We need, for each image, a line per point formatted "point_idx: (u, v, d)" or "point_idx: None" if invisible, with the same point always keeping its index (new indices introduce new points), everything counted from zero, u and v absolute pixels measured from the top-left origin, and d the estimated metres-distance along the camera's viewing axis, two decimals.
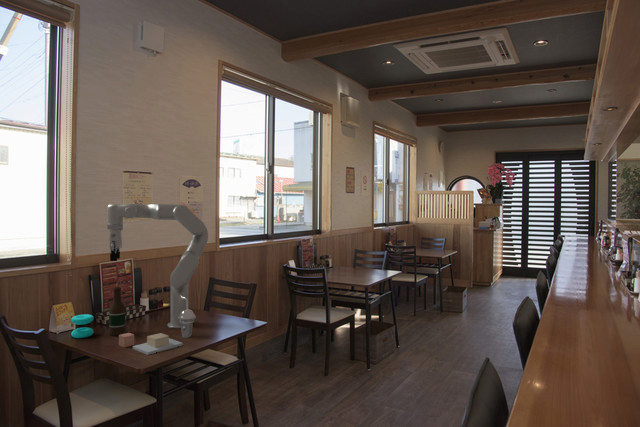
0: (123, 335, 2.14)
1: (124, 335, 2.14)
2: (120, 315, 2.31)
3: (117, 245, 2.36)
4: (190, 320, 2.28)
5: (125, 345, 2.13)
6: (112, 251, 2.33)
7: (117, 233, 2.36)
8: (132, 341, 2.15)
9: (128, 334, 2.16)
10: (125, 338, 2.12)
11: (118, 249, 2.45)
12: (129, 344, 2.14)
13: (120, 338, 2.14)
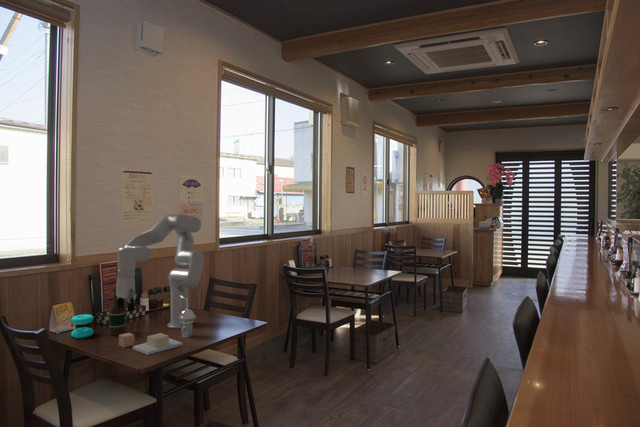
0: (123, 335, 2.14)
1: (124, 335, 2.14)
2: (120, 315, 2.31)
3: None
4: (190, 320, 2.28)
5: (125, 345, 2.13)
6: None
7: None
8: (132, 341, 2.15)
9: (128, 334, 2.16)
10: (125, 338, 2.12)
11: None
12: (129, 344, 2.14)
13: (120, 338, 2.14)
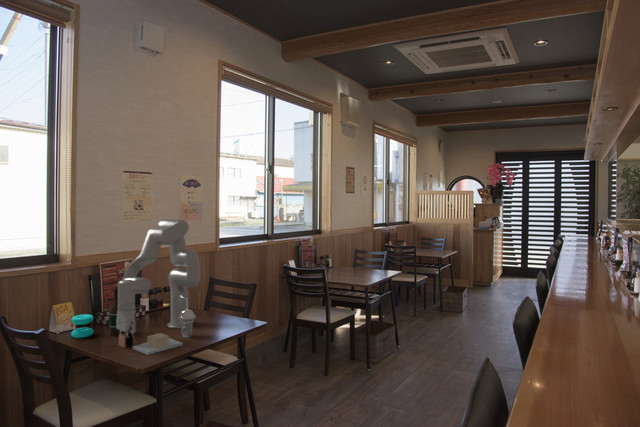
0: (123, 335, 2.14)
1: (124, 335, 2.14)
2: None
3: None
4: (190, 320, 2.28)
5: (125, 345, 2.13)
6: None
7: None
8: None
9: None
10: (125, 338, 2.12)
11: None
12: None
13: (120, 338, 2.14)
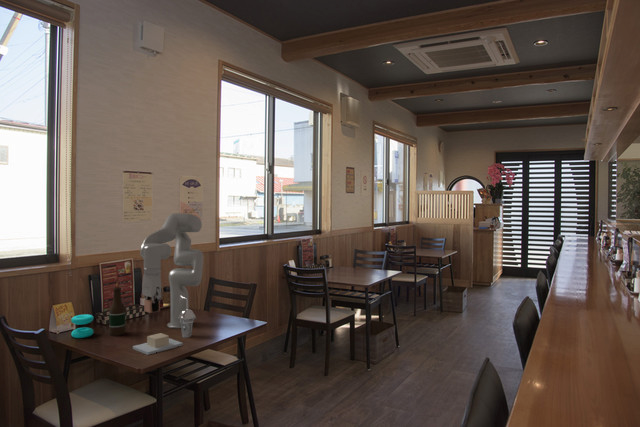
0: (149, 300, 2.12)
1: (150, 300, 2.12)
2: (120, 315, 2.31)
3: None
4: (190, 320, 2.28)
5: (151, 310, 2.10)
6: None
7: None
8: None
9: None
10: (151, 303, 2.10)
11: (153, 299, 2.10)
12: None
13: (146, 304, 2.11)
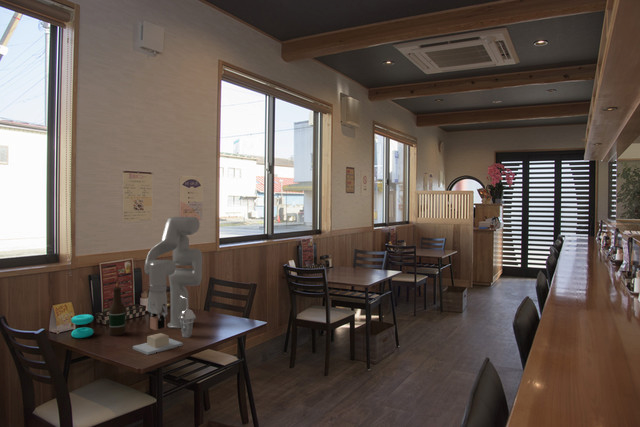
0: (154, 318, 2.11)
1: (155, 318, 2.11)
2: (120, 315, 2.31)
3: None
4: (190, 320, 2.28)
5: (157, 328, 2.09)
6: None
7: None
8: None
9: None
10: (157, 320, 2.09)
11: None
12: None
13: (152, 321, 2.11)
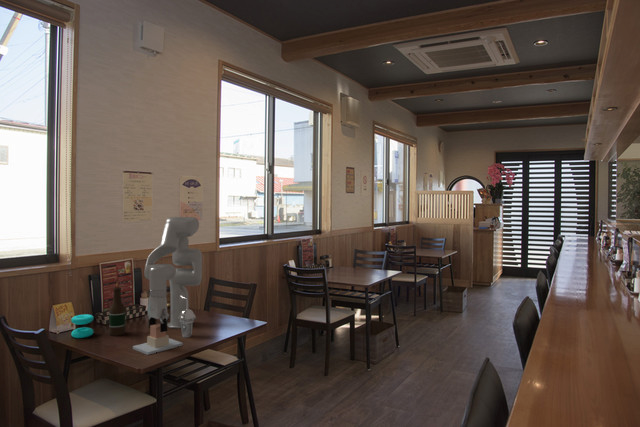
0: (154, 326, 2.12)
1: (156, 326, 2.12)
2: (120, 315, 2.31)
3: None
4: (190, 320, 2.28)
5: (157, 336, 2.10)
6: None
7: None
8: (163, 332, 2.12)
9: (159, 325, 2.13)
10: (157, 329, 2.10)
11: (161, 320, 2.09)
12: (161, 335, 2.11)
13: (152, 329, 2.11)
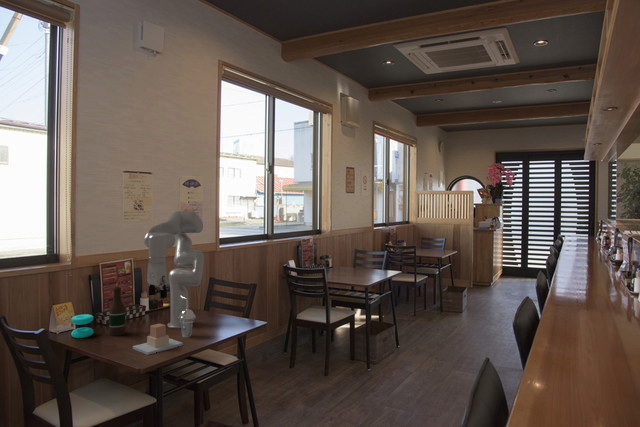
0: (154, 326, 2.12)
1: (156, 326, 2.12)
2: (120, 315, 2.31)
3: None
4: (190, 320, 2.28)
5: (157, 336, 2.10)
6: None
7: None
8: (163, 332, 2.12)
9: (159, 325, 2.13)
10: (157, 329, 2.10)
11: (160, 287, 2.12)
12: (161, 335, 2.11)
13: (152, 329, 2.11)
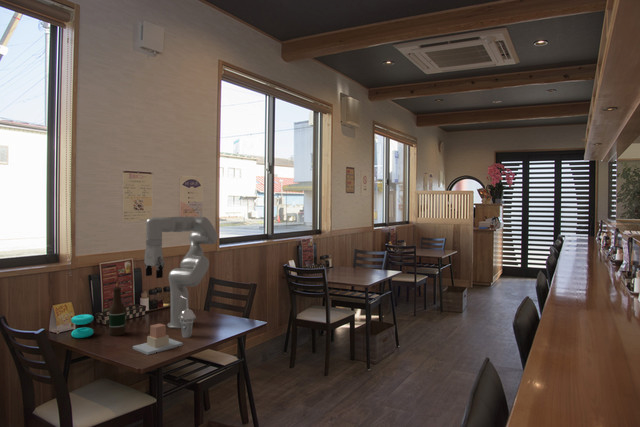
0: (154, 326, 2.12)
1: (156, 326, 2.12)
2: (120, 315, 2.31)
3: None
4: (190, 320, 2.28)
5: (157, 336, 2.10)
6: None
7: None
8: (163, 332, 2.12)
9: (159, 325, 2.13)
10: (157, 329, 2.10)
11: (156, 267, 2.25)
12: (161, 335, 2.11)
13: (152, 329, 2.11)
